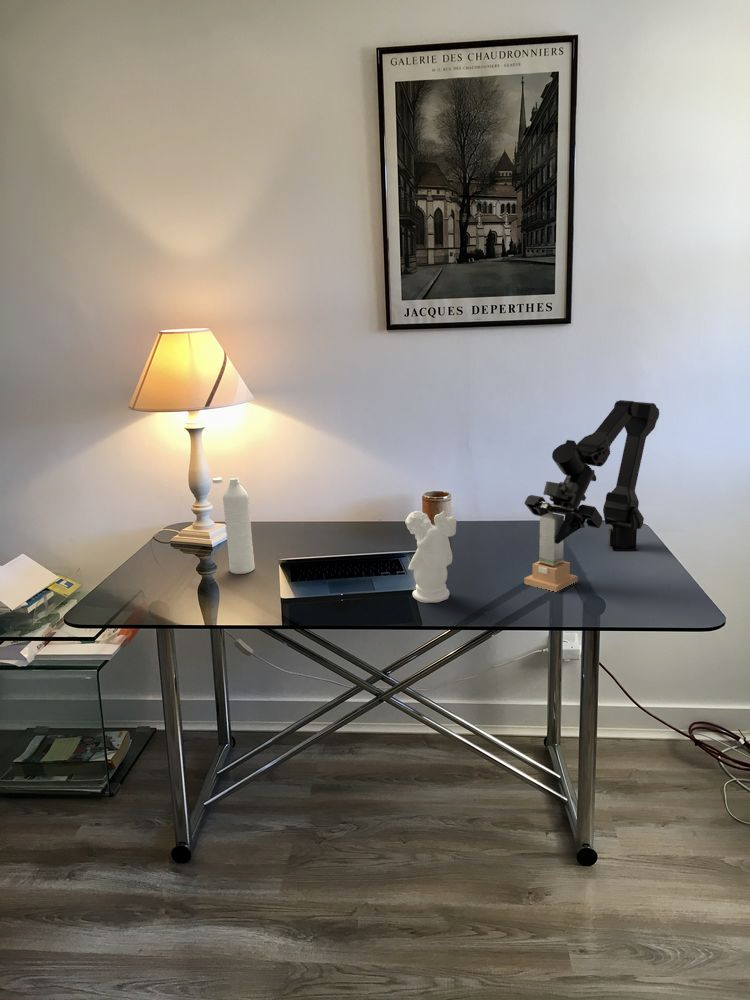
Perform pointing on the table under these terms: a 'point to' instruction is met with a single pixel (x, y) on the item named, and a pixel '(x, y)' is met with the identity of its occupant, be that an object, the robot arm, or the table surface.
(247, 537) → the water bottle
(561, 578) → the stand
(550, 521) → the column
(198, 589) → the table surface
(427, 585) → the cherub figurine
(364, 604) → the table surface
